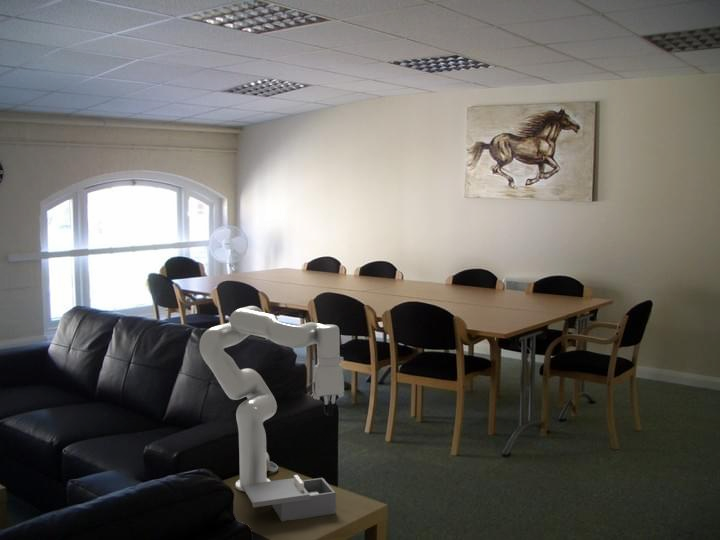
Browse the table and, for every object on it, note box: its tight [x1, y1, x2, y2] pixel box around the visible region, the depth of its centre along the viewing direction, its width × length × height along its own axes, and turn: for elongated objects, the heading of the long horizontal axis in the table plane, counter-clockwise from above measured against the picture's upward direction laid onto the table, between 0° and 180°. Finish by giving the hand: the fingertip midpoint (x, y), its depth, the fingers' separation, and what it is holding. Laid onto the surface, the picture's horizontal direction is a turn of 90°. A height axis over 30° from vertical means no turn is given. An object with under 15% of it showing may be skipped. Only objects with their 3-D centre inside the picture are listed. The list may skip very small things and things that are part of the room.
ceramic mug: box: [266, 451, 279, 473], centre depth 282 cm, size 11×8×8 cm
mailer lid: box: [243, 474, 310, 508], centre depth 243 cm, size 16×18×4 cm
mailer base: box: [271, 477, 337, 522], centre depth 247 cm, size 14×18×7 cm
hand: (328, 414), depth 254 cm, fingers closed
